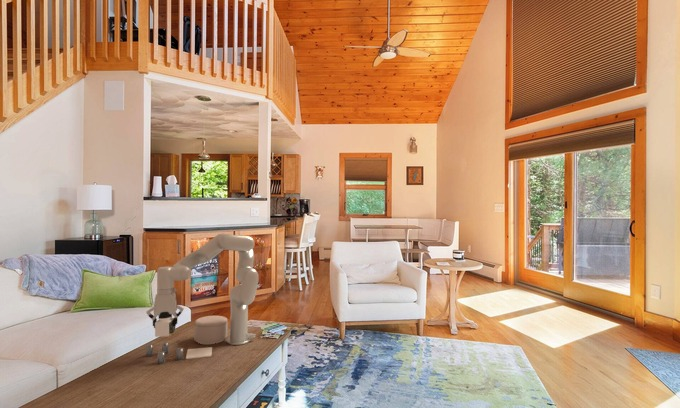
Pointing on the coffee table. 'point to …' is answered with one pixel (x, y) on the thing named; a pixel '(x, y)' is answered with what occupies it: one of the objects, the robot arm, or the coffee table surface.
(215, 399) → the coffee table surface
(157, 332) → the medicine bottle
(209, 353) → the pad
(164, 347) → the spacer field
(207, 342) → the container
